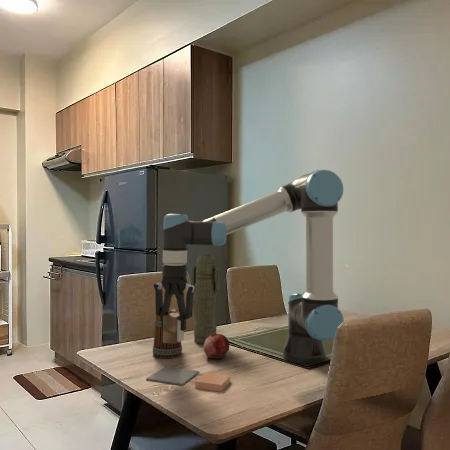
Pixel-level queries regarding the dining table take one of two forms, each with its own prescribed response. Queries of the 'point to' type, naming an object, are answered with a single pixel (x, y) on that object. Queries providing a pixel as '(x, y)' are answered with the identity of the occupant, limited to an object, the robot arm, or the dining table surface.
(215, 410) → the dining table surface
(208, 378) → the tile
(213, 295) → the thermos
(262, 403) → the dining table surface
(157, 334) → the mug
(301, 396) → the dining table surface
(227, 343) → the fruit
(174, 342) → the push block
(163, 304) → the robot arm
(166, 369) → the coaster
